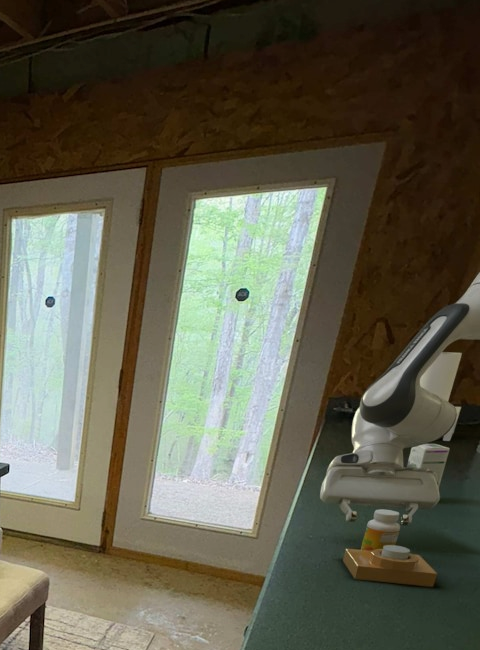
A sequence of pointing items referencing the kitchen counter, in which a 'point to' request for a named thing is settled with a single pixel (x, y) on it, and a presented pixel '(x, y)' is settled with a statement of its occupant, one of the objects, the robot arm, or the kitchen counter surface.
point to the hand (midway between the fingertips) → (378, 522)
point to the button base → (389, 568)
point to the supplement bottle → (381, 530)
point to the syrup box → (429, 458)
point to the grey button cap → (395, 552)
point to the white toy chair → (442, 380)
